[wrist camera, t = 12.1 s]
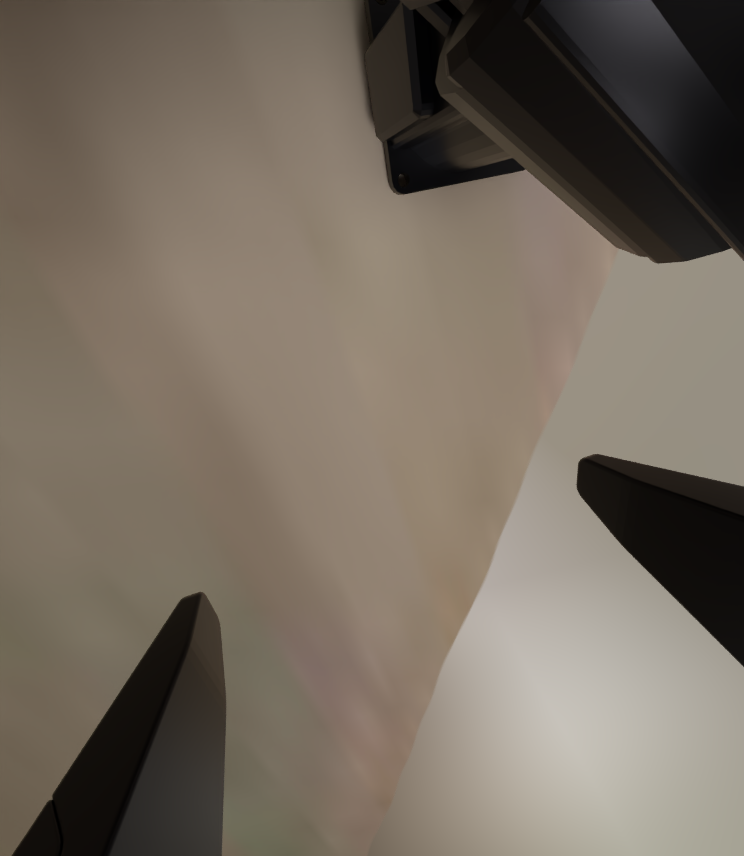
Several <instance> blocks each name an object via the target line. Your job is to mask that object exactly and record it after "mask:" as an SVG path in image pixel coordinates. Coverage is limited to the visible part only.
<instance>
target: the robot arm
mask: <svg viewBox="0 0 744 856" xmlns="http://www.w3.org/2000/svg"><path fill="white" fill-rule="evenodd" d="M365 9H366V16H367V24H368V31H369V39H370V46H369V48H368V50H367V52H366V54H365V62H366V69H367V76H368V83H369V90H370V97H371V104H372V111H373V118H374V125H375V132H376V136H377V137H378V138H379V140H380V141H381V142H384V149H385V157H386V164H387V171H388V179H389V185H390V188H391V190H392V191H393V192H394V193H396V194H397V195H404V194H409V193H414V192H419V191H424V190H429V189H433V188H438V187H443V186H448V185H453V184H458V183H463V182H468V181H473V180H478V179H483V178H488V177H493V176H498V175H503V174H508V173H513V172H518V171H523V170H525V169H526V170H527V171H528V172H530V173H531V174H532V175H533V176H534V177H535V178H537V179H538V180H539V181H540V182H541V183H542V184H543V185H545V186H546V187H547V188H548V189H549V190H550V191H552V192H553V193H554V194H555V195H556V196H557V197H559V198H560V199H561V200H562V201H563V202H564V203H565V204H567V205H568V206H569V207H570V208H571V209H572V210H574V211H575V212H576V213H577V214H578V215H579V216H580V217H582V218H583V219H584V220H585V221H586V222H587V223H589V224H590V225H591V226H592V227H593V228H594V229H596V230H597V231H598V232H599V233H600V234H601V235H602V236H604V237H605V238H606V239H607V240H608V241H609V242H611V243H612V244H613V245H614V246H615V247H617V248H619V249H622V250H625V251H627V252H630V253H633V254H635V255H638V256H643V257H648V258H649V259H650V260H651V261H653V262H655V263H671V262H684V261H689V260H692V259H696V258H700V257H703V256H706V255H711V254H714V253H718V252H722V251H725V250H727V249H730V248H732V249H733V250H734V251H735V252H736V253H737V254H738V255H739V256H740V257H741V258H742V259H743V261H744V0H385V4H384V5H379V4H378V3H377V2H376V0H365ZM400 174H403V175H404V176H405V178H406V184H405V186H404V187H401V186H400V185H399V183H398V177H399V175H400ZM577 490H578V492H579V494H580V496H581V497H582V498H583V500H584V501H585V502H586V503H587V504H588V505H589V507H590V508H591V509H592V510H593V512H594V513H595V514H596V515H597V516H598V518H599V519H600V520H601V521H602V522H603V524H604V525H605V526H606V527H607V528H608V529H609V531H610V532H611V533H612V534H613V535H614V537H615V538H616V539H617V540H618V541H619V542H620V544H621V545H622V546H623V547H624V548H625V549H626V550H627V551H628V552H629V553H630V554H631V555H632V556H633V557H634V558H635V559H636V560H637V561H638V562H639V563H640V564H641V565H642V566H643V567H644V568H645V569H646V570H647V571H648V572H649V573H650V574H651V575H652V576H653V577H654V578H655V579H656V580H657V581H658V582H659V583H660V584H661V585H662V586H663V587H664V588H665V589H666V590H667V591H668V592H669V593H670V594H671V595H672V596H673V597H674V598H675V599H676V600H677V601H678V602H679V603H680V604H681V605H682V606H683V607H684V608H685V609H686V610H687V611H688V612H689V613H690V614H691V615H692V616H693V617H694V618H695V619H696V620H697V621H698V622H699V623H700V624H701V625H702V626H703V627H704V628H705V629H706V630H707V631H708V632H710V634H711V635H712V636H713V637H714V638H715V639H716V640H717V641H718V642H719V643H720V644H721V645H722V646H723V647H724V648H725V649H726V650H727V651H729V653H731V655H732V656H733V657H734V658H735V659H736V660H737V661H738V662H739V663H740V664H741V665H743V667H744V486H739V485H735V484H730V483H726V482H721V481H717V480H712V479H708V478H703V477H699V476H694V475H690V474H685V473H680V472H676V471H672V470H667V469H662V468H658V467H653V466H649V465H644V464H640V463H636V462H631V461H627V460H622V459H618V458H613V457H608V456H604V455H599V454H593V455H590V456H587V457H585V458H582V459H581V460H580V461H579V463H578V474H577ZM225 735H226V691H225V678H224V665H223V653H222V641H221V628H220V622H219V619H218V616H217V614H216V613H215V611H214V609H213V607H212V605H211V604H210V602H209V600H208V598H207V596H206V595H205V594H204V593H203V592H198V593H195V594H192V595H189V596H186V597H184V598H182V599H181V600H180V601H179V603H178V604H177V606H176V607H175V609H174V610H173V612H172V613H171V615H170V616H169V618H168V620H167V621H166V623H165V624H164V626H163V627H162V629H161V630H160V632H159V633H158V635H157V636H156V638H155V639H154V641H153V642H152V644H151V645H150V647H149V648H148V650H147V651H146V653H145V655H144V656H143V658H142V659H141V661H140V662H139V664H138V665H137V667H136V668H135V670H134V671H133V673H132V674H131V676H130V677H129V679H128V680H127V682H126V683H125V685H124V686H123V688H122V690H121V691H120V693H119V694H118V696H117V697H116V699H115V700H114V702H113V703H112V705H111V706H110V708H109V709H108V711H107V712H106V714H105V715H104V717H103V718H102V720H101V721H100V723H99V725H98V726H97V728H96V729H95V731H94V732H93V734H92V735H91V737H90V738H89V740H88V741H87V743H86V744H85V746H84V747H83V749H82V750H81V752H80V753H79V755H78V756H77V758H76V760H75V761H74V763H73V764H72V766H71V767H70V769H69V770H68V772H67V773H66V775H65V776H64V778H63V779H62V781H61V782H60V784H59V785H58V787H57V788H56V790H55V791H54V793H53V795H52V798H53V800H49V801H48V802H47V803H46V805H45V806H44V808H43V809H42V811H41V812H40V814H39V816H38V817H37V819H36V820H35V822H34V823H33V825H32V826H31V828H30V829H29V831H28V832H27V834H26V835H25V837H24V838H23V840H22V841H21V843H20V844H19V845H18V847H17V848H16V850H15V851H14V853H13V854H12V856H222V830H223V798H224V767H225Z"/></svg>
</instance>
